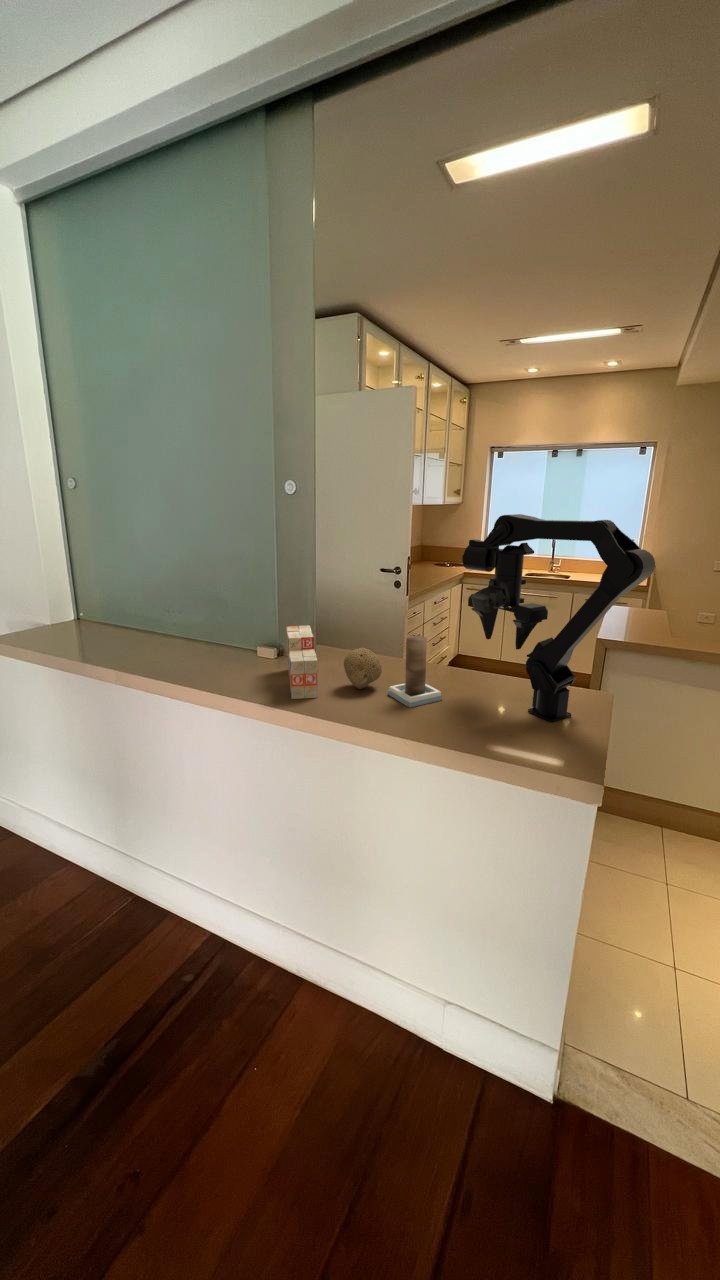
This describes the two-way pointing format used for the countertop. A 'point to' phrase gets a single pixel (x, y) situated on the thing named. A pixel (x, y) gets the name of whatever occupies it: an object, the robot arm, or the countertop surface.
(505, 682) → the countertop surface
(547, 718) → the robot arm
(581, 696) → the countertop surface
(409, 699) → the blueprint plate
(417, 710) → the countertop surface
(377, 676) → the natural sponge
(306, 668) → the stack of blocks
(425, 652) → the walnut column
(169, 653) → the countertop surface
